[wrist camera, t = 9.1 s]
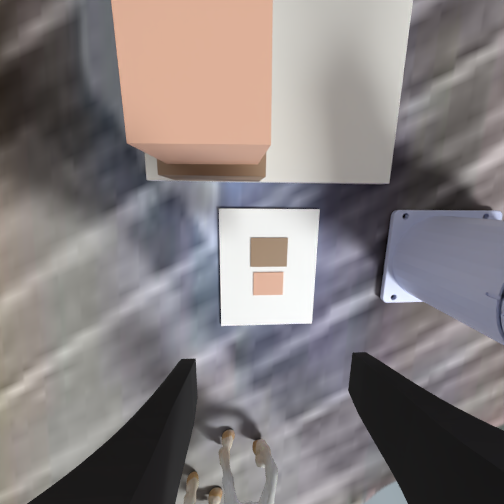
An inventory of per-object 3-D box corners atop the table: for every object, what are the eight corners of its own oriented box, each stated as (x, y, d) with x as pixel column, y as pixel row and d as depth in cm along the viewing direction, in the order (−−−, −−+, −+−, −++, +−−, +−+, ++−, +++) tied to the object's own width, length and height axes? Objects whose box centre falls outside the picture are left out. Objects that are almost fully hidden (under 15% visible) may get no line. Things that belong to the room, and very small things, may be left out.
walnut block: (260, 89, 16) (268, 55, 12) (258, 181, 17) (265, 176, 14) (170, 85, 16) (148, 48, 12) (175, 180, 17) (158, 174, 13)
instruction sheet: (318, 209, 19) (320, 209, 19) (310, 322, 21) (312, 323, 21) (219, 208, 19) (218, 208, 18) (221, 324, 21) (221, 326, 21)
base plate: (407, -31, 16) (418, -45, 15) (381, 184, 19) (389, 183, 18) (132, -53, 15) (125, -71, 14) (151, 180, 18) (146, 179, 17)
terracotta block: (257, 62, 12) (273, -28, 7) (257, 164, 13) (270, 144, 9) (158, 59, 12) (106, -38, 7) (167, 164, 13) (126, 143, 8)
